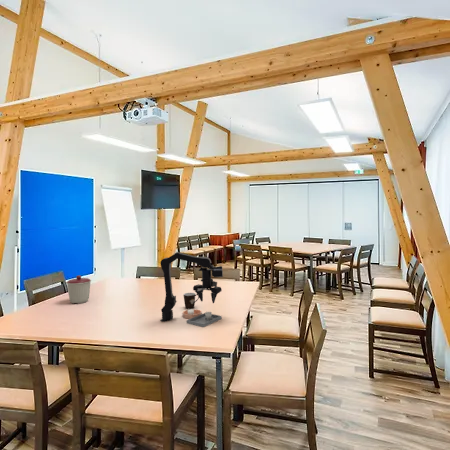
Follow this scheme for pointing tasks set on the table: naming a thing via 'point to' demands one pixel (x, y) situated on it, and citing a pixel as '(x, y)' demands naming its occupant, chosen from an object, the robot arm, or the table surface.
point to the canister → (78, 289)
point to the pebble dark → (208, 315)
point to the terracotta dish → (196, 313)
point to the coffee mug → (189, 300)
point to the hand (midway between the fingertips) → (207, 302)
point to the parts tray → (203, 320)
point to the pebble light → (191, 312)
